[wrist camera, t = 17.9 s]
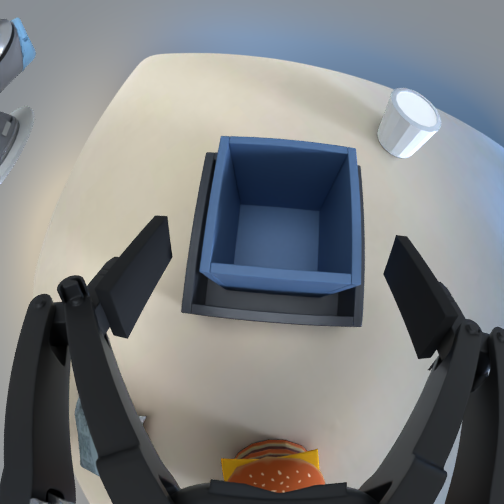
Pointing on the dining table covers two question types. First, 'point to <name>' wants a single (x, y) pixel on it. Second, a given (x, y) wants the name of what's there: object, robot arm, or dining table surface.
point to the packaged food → (87, 441)
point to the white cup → (407, 123)
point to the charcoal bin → (258, 304)
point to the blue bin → (283, 218)
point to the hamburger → (274, 466)
